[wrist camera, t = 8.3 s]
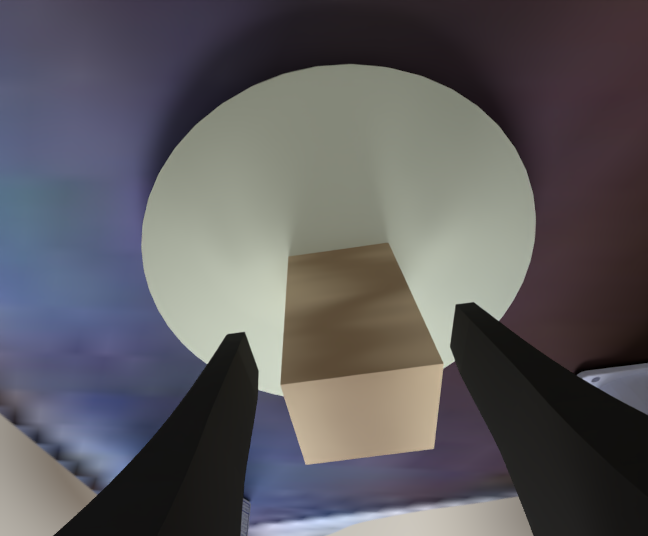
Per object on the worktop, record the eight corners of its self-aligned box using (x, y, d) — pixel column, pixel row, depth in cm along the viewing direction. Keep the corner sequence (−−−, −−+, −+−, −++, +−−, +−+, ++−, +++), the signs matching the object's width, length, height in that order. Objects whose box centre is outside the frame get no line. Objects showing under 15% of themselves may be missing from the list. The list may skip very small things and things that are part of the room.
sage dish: (560, 29, 11) (595, 26, 9) (484, 359, 19) (497, 380, 18) (78, 99, 11) (48, 105, 10) (220, 392, 20) (214, 415, 18)
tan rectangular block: (388, 242, 13) (444, 363, 8) (389, 317, 15) (433, 448, 10) (288, 256, 13) (280, 385, 8) (304, 328, 15) (306, 464, 10)
